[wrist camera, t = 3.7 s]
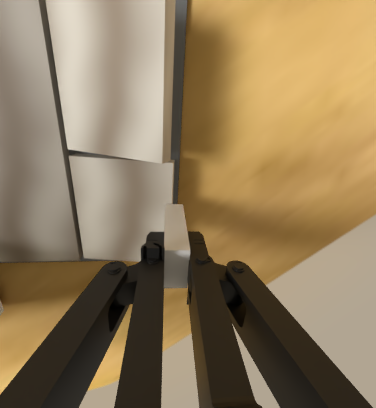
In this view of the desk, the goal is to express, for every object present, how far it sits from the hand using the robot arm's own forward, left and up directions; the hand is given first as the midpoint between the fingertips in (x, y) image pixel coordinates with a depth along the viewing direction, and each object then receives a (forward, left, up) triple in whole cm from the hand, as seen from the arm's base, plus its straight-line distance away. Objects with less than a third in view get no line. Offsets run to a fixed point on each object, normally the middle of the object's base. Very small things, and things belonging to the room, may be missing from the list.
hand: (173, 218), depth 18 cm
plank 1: (-4, +10, 0) cm, 11 cm away
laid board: (-13, +5, -2) cm, 14 cm away
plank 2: (-4, 0, -2) cm, 4 cm away
